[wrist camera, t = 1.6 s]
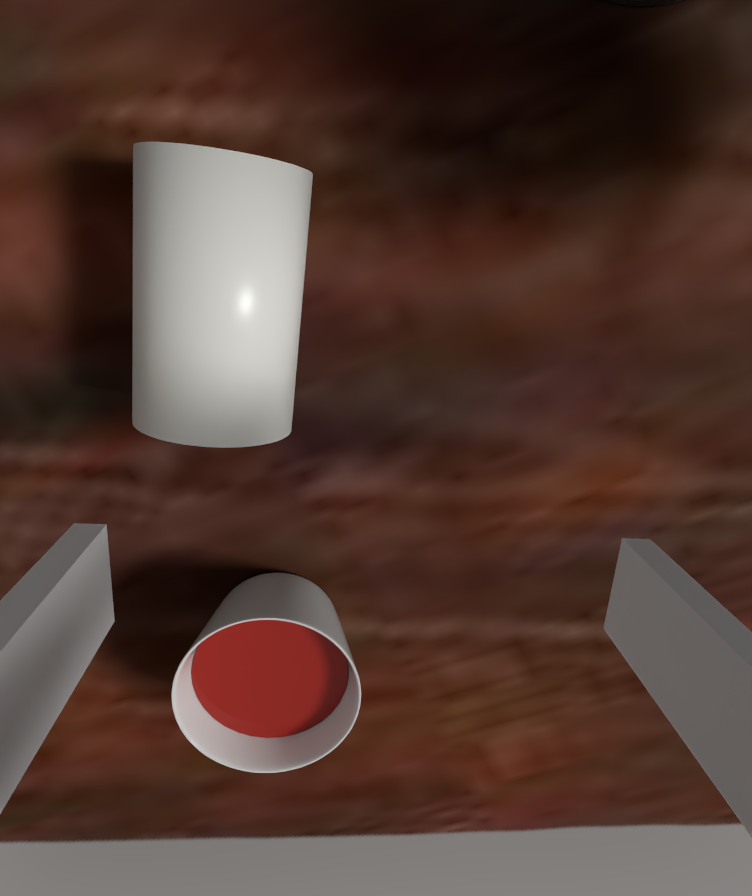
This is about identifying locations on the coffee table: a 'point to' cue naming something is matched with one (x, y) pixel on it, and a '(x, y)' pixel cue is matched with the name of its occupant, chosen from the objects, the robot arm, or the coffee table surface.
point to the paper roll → (216, 293)
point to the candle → (268, 678)
